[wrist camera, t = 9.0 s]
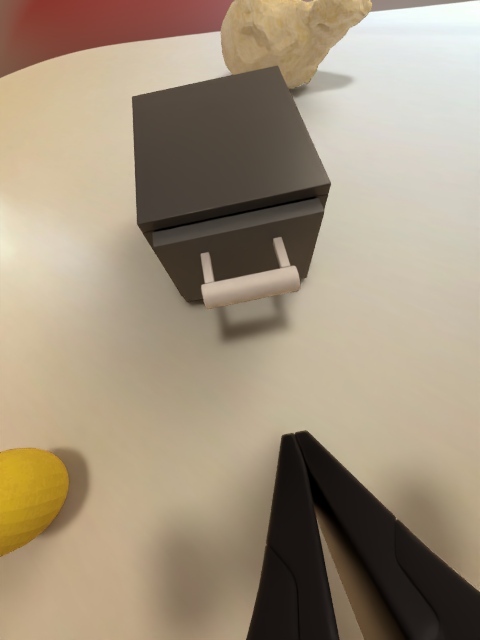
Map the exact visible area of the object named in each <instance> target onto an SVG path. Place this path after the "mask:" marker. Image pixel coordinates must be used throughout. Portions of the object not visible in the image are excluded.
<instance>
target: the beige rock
mask: <svg viewBox="0 0 480 640" xmlns="http://www.w3.org/2000/svg"><path fill="white" fill-rule="evenodd" d="M371 9H372V3H371V2H370V1H369V0H312V1H310V2H304V1H302V0H301V1H300V0H297V1H285V0H235V1H233V2H232V4H231V6H230V8H229V10H228V12H227V14H226V17H225V18H224V21H223V23H222V27H221V45H222V53H223V57H224V61H225V64H226V66H227V68H228V69H229V70H230V71H231V73H232V74H233V75H235V74H240V73H245V72H249V71H254V70H259V69H263V68H268V67H273V66H279V69H280V71H281V73H282V75H283V78H284V80H285V82H286V84H287V87H288V89H291V88H297V87H298V86H300V85H302V84H303V83H306V84H308V83H309V82H310V80H311V78H312V77H313V76H314V74H315V73H316V71H317V68H318V65H319V64H320V63H321V62H322V61H323V59H324V58H325V56H326V55H327V54H328V52H329V50H330V48H331V47H333V46H334V45H335V44H336V43H337V42H338V41H340V40H341V39H342V38H343V37H344V36H345V34H346V33H347V31H348V30H349V28H351V27H353V26H355V25H357V24H358V23H360V21H361V20H362V19H364V18H365V17H366V16H367V15H368V13H369V12H370V10H371Z"/></svg>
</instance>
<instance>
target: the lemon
mask: <svg viewBox="0 0 480 640" xmlns="http://www.w3.org/2000/svg"><path fill="white" fill-rule="evenodd" d="M68 485H69V479H68V472H67V470H66V467H65V465H64V464H63V462H62V461H61V460H60V459H59V458H58V457H57V456H55V455H54V454H52V453H51V452H48V451H44V450H41V449H36V448H21V449H11V450H6V451H2V452H0V557H1V556H3V555H6V554H8V553H10V552H12V551H14V550H16V549H18V548H20V547H22V546H24V545H25V544H27V543H29V542H30V541H31V540H33V539H34V538H35V537H36V536H38V535H39V534H40V533H41V532H42V531H44V530H45V529H46V528H47V527H48V526H49V524H50V523H51V522H52V521H53V520H54V518H55V517H56V516H57V515H58V513H59V511H60V509H61V507H62V506H63V504H64V502H65V499H66V496H67V493H68Z"/></svg>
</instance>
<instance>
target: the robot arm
mask: <svg viewBox="0 0 480 640" xmlns="http://www.w3.org/2000/svg"><path fill="white" fill-rule="evenodd" d="M316 518H317V519H316ZM317 520H318V523H319V525H320V528H321V530H322V533H323V535H324V538H325V541H326V543H327V546H328V548H329V551H330V553H331V556H332V558H333V561H334V563H335V566H336V568H337V571H338V574H339V576H340V579H341V581H342V584H343V586H344V589H345V591H346V594H347V596H348V599H349V601H350V604H351V606H352V609H353V612H354V614H355V617H356V619H357V622H358V624H359V627H360V629H361V632H362V634H363V637H364V639H365V640H480V592H479V591H478V590H477V589H475V588H474V587H473V586H472V585H471V584H469V583H468V582H467V581H466V580H465V579H463V578H462V577H461V576H460V575H459V574H457V573H456V572H455V571H454V570H453V569H452V568H450V567H449V566H448V565H447V564H446V563H445V562H443V561H442V560H441V559H440V558H439V557H438V556H437V555H435V554H434V553H433V552H432V551H431V550H430V549H429V548H428V547H427V546H426V545H424V544H423V543H422V542H421V541H420V540H419V539H418V538H417V537H416V536H415V535H414V534H413V533H412V532H411V531H410V530H409V529H408V528H407V527H406V526H404V525H403V524H402V523H401V522H400V521H399V520H398V519H397V520H396V517H395V516H394V515H393V514H392V513H391V512H390V511H389V510H388V509H387V508H386V507H385V506H384V505H383V504H382V503H381V502H380V501H379V500H378V499H377V498H376V497H375V496H374V495H373V494H372V493H370V492H369V491H368V490H367V489H366V488H365V487H364V486H363V485H362V484H361V483H360V482H359V481H358V480H357V479H356V478H355V477H354V476H353V475H352V474H351V473H350V472H349V471H348V470H347V469H346V468H345V467H344V466H343V465H342V464H341V463H340V462H339V461H338V460H337V459H336V458H335V457H334V456H333V455H332V454H331V453H329V452H328V451H327V450H326V449H325V448H324V447H323V446H322V445H321V444H320V443H319V442H318V441H317V440H316V439H315V438H314V437H313V436H312V435H311V434H310V433H309V432H308V431H306V430H305V431H300V432H296V433H295V434H294V433H290V434H285V435H282V438H281V444H280V451H279V458H278V465H277V472H276V479H275V486H274V493H273V500H272V507H271V513H270V520H269V527H268V534H267V541H266V544H267V545H266V547H265V553H264V560H263V566H262V572H261V578H260V583H259V589H258V593H257V598H256V602H255V606H254V611H253V615H252V619H251V623H250V627H249V631H248V635H247V639H246V640H339V635H338V629H337V624H336V619H335V613H334V608H333V603H332V598H331V592H330V587H329V582H328V577H327V571H326V566H325V561H324V555H323V550H322V545H321V540H320V534H319V529H318V524H317Z"/></svg>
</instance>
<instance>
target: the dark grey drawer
mask: <svg viewBox="0 0 480 640" xmlns="http://www.w3.org/2000/svg"><path fill="white" fill-rule="evenodd" d="M323 215H324V209H323V207H322V204H321V202H320V199H319V198H316V199H311V200H306V201H301V202H300V200H296V201H291V202H286V203H281V204H276V205H272V206H267V207H262V208H257V209H253V210H248V211H243V212H238V213H234V214H229V215H224V216H219V217H214V218H210V219H205V220H200V221H195V222H191V223H186V224H181V225H176V226H171V227H168V230H163V231H158V232H153V233H152V234H153V247H154V249H155V251H156V252H157V254H158V255H159V257H160V259H161V260H162V262H163V264H164V265H165V267H166V268H167V270H168V272H169V273H170V275H171V277H172V278H173V280H174V281H175V283H176V285H177V286H178V288H179V290H180V291H181V293H182V294H183V296H184V298H185V299H186V301H187V302H190V301H195V300H200V299H203V301H204V304H205V307H206V308H207V309H211V308H216V307H221V306H226V305H231V304H235V303H240V302H245V301H250V300H255V299H260V298H265V297H269V296H274V295H279V294H284V293H289V292H294V291H298V290H299V289H300V279H301V278H306V277H307V273H308V270H309V266H310V263H311V259H312V255H313V252H314V248H315V244H316V241H317V237H318V233H319V230H320V226H321V222H322V219H323Z"/></svg>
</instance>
